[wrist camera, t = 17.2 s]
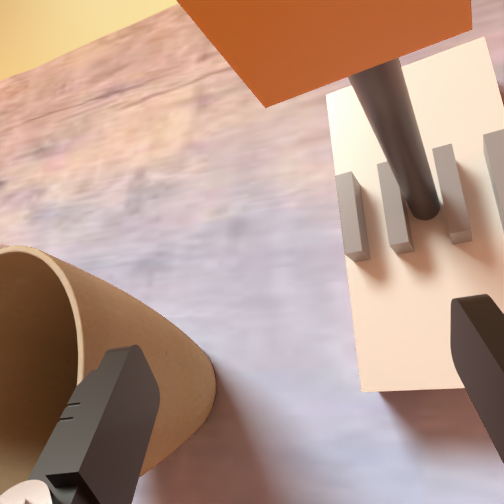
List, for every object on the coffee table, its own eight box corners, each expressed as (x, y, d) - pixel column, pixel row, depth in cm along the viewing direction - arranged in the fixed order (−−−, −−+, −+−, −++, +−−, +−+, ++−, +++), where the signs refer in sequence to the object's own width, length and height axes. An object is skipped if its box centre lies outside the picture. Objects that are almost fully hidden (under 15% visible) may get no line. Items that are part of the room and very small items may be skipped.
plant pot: (263, 292, 33) (105, 231, 19) (253, 507, 29) (45, 619, 15) (122, 297, 40) (-65, 255, 26) (99, 471, 36) (-135, 525, 22)
